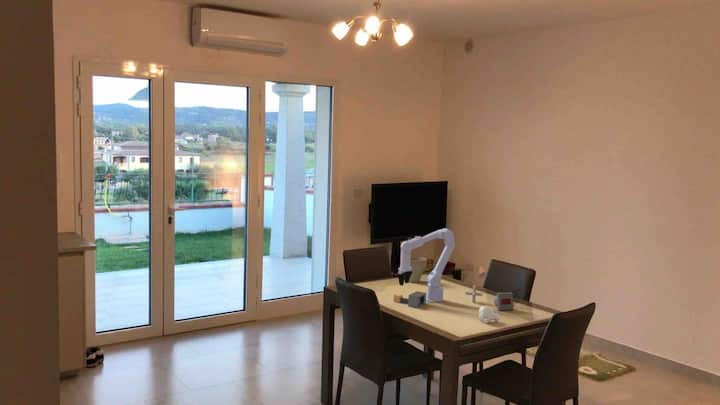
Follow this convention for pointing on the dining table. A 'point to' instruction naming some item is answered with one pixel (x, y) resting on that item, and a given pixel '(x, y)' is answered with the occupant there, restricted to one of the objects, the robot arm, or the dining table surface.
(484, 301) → the dining table surface
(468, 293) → the toy jack
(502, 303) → the voltmeter
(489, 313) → the white lumpy piece
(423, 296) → the housing
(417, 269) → the plant pot
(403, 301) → the plug
